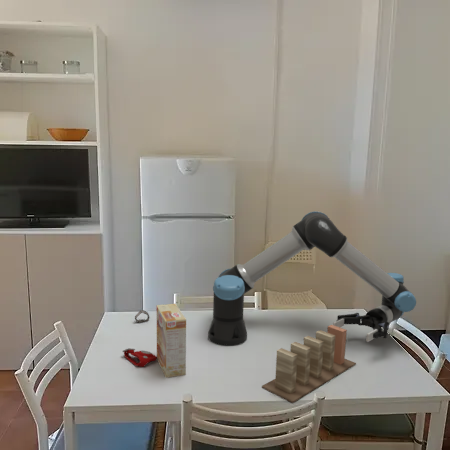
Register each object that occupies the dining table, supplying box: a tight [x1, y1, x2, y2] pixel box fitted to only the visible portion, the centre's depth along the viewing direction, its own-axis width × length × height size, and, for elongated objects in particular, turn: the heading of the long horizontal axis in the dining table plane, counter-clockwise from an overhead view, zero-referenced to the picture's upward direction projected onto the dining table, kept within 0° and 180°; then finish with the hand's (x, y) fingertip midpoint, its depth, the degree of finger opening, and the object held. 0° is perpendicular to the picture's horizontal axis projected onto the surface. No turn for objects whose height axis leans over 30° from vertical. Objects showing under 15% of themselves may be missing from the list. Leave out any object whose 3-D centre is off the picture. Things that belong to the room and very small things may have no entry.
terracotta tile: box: [327, 324, 347, 365], centre depth 164 cm, size 2×6×12 cm, turn 45°
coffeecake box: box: [156, 303, 187, 379], centre depth 157 cm, size 15×7×20 cm, turn 19°
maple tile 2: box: [303, 335, 324, 378], centre depth 154 cm, size 2×6×12 cm, turn 45°
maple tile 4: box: [274, 347, 297, 394], centre depth 144 cm, size 2×6×12 cm, turn 45°
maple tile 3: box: [289, 341, 311, 386], centre depth 149 cm, size 2×6×12 cm, turn 45°
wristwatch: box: [134, 309, 150, 324], centre depth 196 cm, size 4×6×5 cm, turn 122°
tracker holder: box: [122, 348, 158, 368], centre depth 162 cm, size 12×4×10 cm
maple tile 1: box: [315, 329, 335, 371], centre depth 159 cm, size 2×6×12 cm, turn 45°
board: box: [261, 358, 357, 404], centre depth 155 cm, size 36×12×1 cm, turn 135°
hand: (350, 332), depth 169 cm, fingers open, 13 cm apart
